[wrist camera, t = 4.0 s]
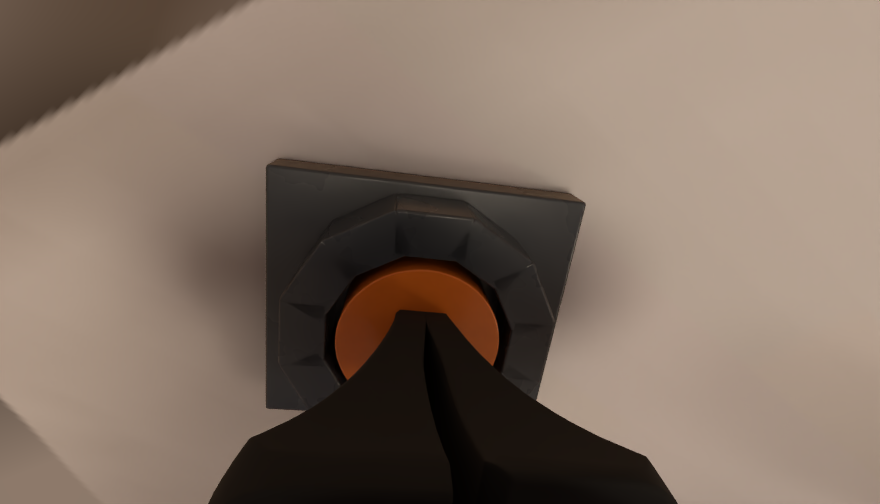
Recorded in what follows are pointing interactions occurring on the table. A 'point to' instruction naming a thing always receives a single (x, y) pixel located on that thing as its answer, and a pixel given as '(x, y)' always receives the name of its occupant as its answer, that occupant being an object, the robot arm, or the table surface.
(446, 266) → the release button
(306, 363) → the block
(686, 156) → the table surface
